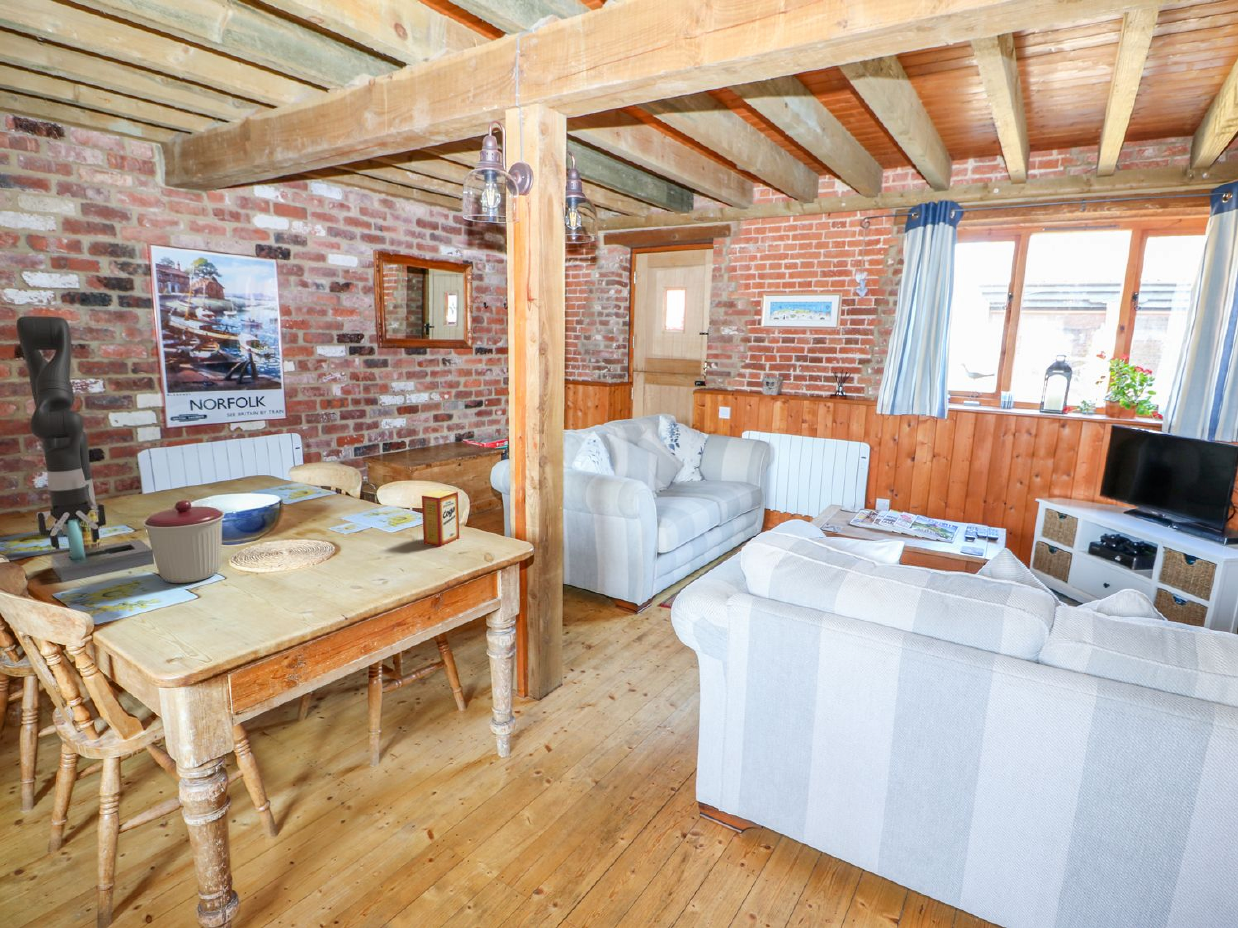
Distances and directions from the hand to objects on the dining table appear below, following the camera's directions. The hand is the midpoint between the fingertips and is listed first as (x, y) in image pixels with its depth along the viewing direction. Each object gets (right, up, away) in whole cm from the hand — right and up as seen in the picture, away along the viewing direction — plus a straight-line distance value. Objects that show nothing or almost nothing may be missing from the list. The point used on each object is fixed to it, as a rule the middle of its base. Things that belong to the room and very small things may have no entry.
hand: (76, 544), depth 174 cm
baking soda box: (+90, -3, +32) cm, 96 cm away
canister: (+32, -9, -1) cm, 33 cm away
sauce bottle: (-13, -4, +20) cm, 24 cm away
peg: (0, -7, +1) cm, 7 cm away
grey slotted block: (+3, -7, +5) cm, 9 cm away
